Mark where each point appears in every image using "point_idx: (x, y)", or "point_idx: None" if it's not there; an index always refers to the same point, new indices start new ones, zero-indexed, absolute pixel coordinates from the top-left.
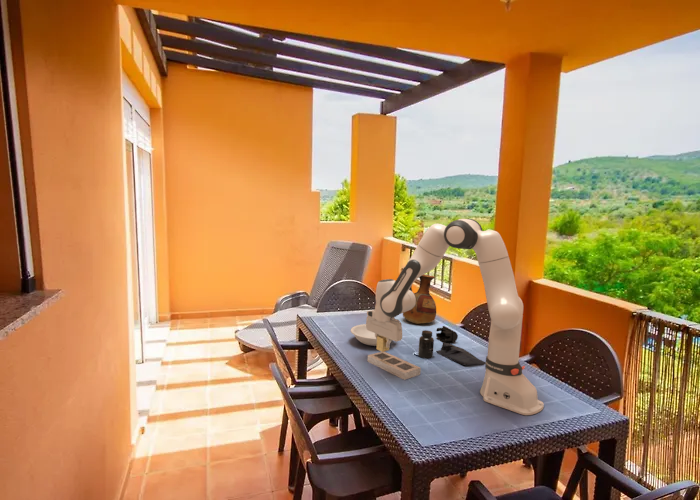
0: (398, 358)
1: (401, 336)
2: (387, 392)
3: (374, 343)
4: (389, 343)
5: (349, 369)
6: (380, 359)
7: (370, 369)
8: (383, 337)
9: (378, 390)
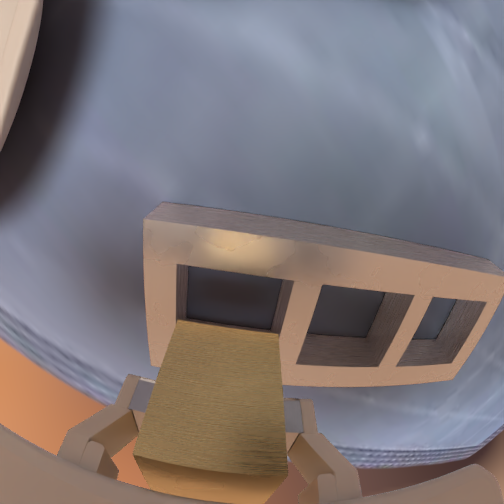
0: (362, 262)
1: (492, 499)
2: (404, 432)
3: (1, 148)
4: (315, 434)
5: None
6: None
7: None
8: (231, 497)
9: (377, 442)
